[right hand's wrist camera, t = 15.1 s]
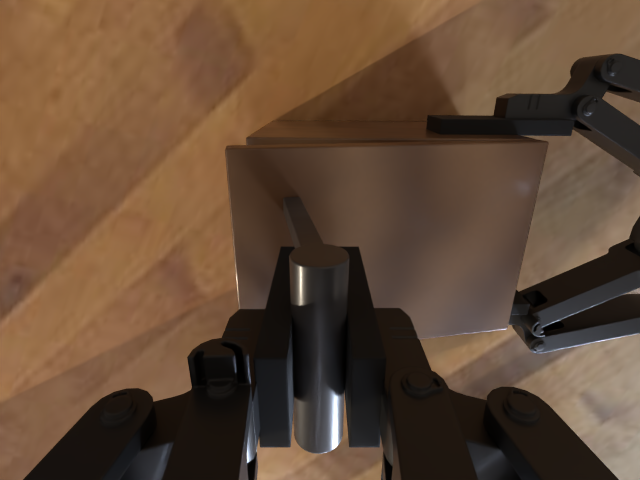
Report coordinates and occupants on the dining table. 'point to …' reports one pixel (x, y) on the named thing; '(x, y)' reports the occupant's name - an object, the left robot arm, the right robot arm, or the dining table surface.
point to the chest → (357, 133)
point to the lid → (379, 244)
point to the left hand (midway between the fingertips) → (422, 218)
